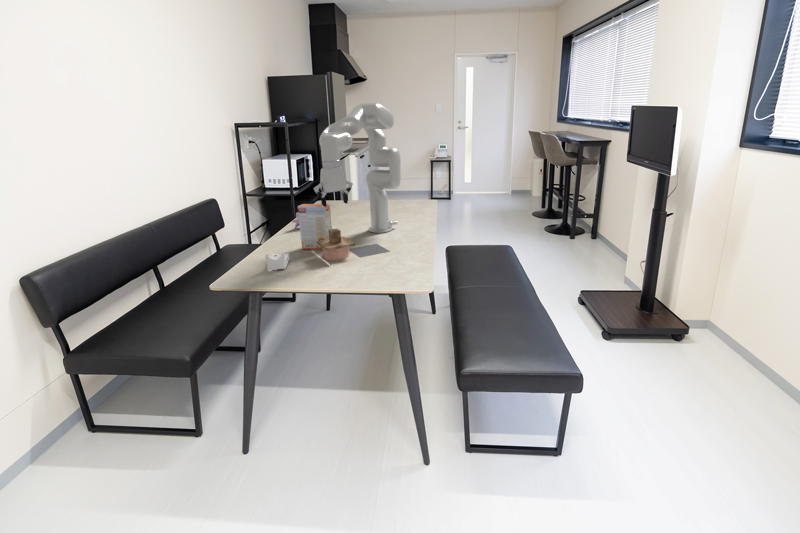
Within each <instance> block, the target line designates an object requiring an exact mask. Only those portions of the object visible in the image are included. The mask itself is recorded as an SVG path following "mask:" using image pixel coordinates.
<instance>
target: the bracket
mask: <svg viewBox="0 0 800 533" xmlns="http://www.w3.org/2000/svg"><path fill="white" fill-rule="evenodd" d="M265 260H266V267H267V269H266V270H267V271H268V270H277V271H278V270H286V268H287V265H288V263H289V262H290V253H285V251H281V252H280V253H274V254H273V253H272V254H270V252H266V253H265Z"/></svg>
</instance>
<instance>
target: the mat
mask: <svg viewBox="0 0 800 533" xmlns="http://www.w3.org/2000/svg"><path fill="white" fill-rule="evenodd" d="M349 252H351V253H352V254H354V255H355V256H357V257H359V258H365V257H369V256H375V255H379V254H383V253H384V254H386V253H390V252H391V250H389V249H387V248H386V247H383V246H381V245H379V244H378V243H371V244H366V245H361V246H360V245H359V246H357V247H355V246H354V247H349Z"/></svg>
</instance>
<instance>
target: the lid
mask: <svg viewBox="0 0 800 533" xmlns="http://www.w3.org/2000/svg"><path fill="white" fill-rule="evenodd" d="M341 234H342V233H341V230H340V229H339V228H332V229H330V230H329V239H327V240H321V241H316V242H317V244H318V245H319V246H321V247H322V248H324V249H325V250H326V251H328V250H333V249H339V248H344V247H349V248H351V247H355V246H356V243H355V242H353V241H352V240H350V239H349V238H347V237H346V236H341Z"/></svg>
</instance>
